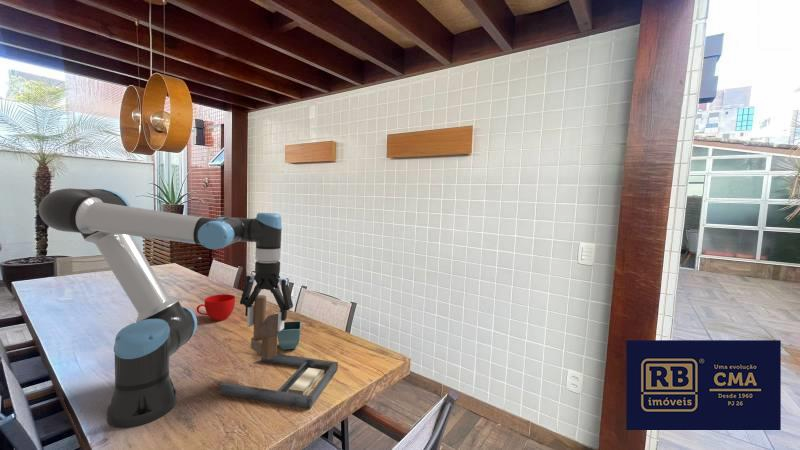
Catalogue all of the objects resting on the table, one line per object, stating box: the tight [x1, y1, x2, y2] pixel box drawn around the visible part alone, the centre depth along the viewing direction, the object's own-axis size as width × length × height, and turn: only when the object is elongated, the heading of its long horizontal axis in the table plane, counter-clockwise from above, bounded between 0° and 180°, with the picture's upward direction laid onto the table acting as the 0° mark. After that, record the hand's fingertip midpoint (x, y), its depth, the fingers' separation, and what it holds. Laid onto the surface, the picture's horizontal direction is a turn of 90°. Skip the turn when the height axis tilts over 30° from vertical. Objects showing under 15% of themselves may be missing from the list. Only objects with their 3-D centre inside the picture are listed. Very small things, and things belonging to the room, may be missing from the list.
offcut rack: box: [219, 353, 339, 410], centre depth 106 cm, size 22×29×3 cm
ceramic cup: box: [196, 293, 236, 322], centre depth 155 cm, size 13×17×10 cm
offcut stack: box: [288, 368, 325, 396], centre depth 105 cm, size 16×5×3 cm, turn 170°
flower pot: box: [277, 320, 302, 351], centre depth 130 cm, size 9×9×9 cm
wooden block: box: [250, 294, 278, 359], centre depth 106 cm, size 4×11×18 cm, turn 50°
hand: (265, 327), depth 106 cm, fingers closed on wooden block, 10 cm apart
